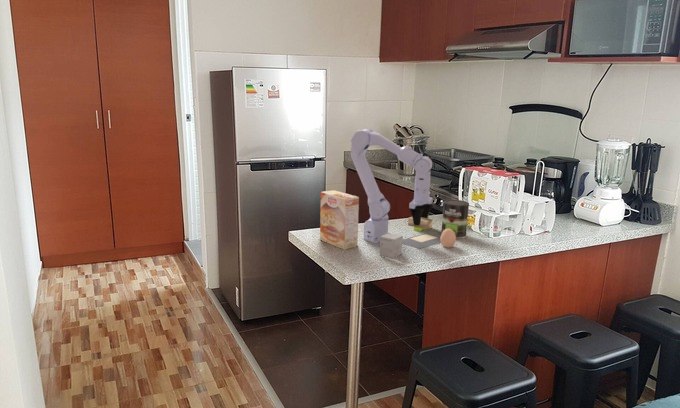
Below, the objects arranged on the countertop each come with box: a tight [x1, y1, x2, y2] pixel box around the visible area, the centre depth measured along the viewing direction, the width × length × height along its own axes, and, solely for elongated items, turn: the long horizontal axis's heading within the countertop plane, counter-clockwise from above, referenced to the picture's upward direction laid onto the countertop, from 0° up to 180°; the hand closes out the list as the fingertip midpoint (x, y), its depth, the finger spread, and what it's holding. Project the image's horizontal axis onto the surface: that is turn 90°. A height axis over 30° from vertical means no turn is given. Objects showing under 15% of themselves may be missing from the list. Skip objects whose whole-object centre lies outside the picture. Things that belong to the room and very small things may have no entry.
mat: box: [402, 233, 441, 250], centre depth 204 cm, size 18×12×1 cm, turn 131°
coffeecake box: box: [319, 189, 360, 250], centre depth 198 cm, size 15×7×20 cm, turn 40°
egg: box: [439, 228, 457, 248], centre depth 197 cm, size 6×6×8 cm
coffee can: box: [440, 199, 470, 239], centre depth 213 cm, size 10×10×14 cm
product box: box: [379, 232, 404, 260], centre depth 188 cm, size 6×6×7 cm
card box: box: [407, 216, 433, 230], centre depth 199 cm, size 4×8×3 cm, turn 52°
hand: (419, 223), depth 199 cm, fingers closed on card box, 4 cm apart
